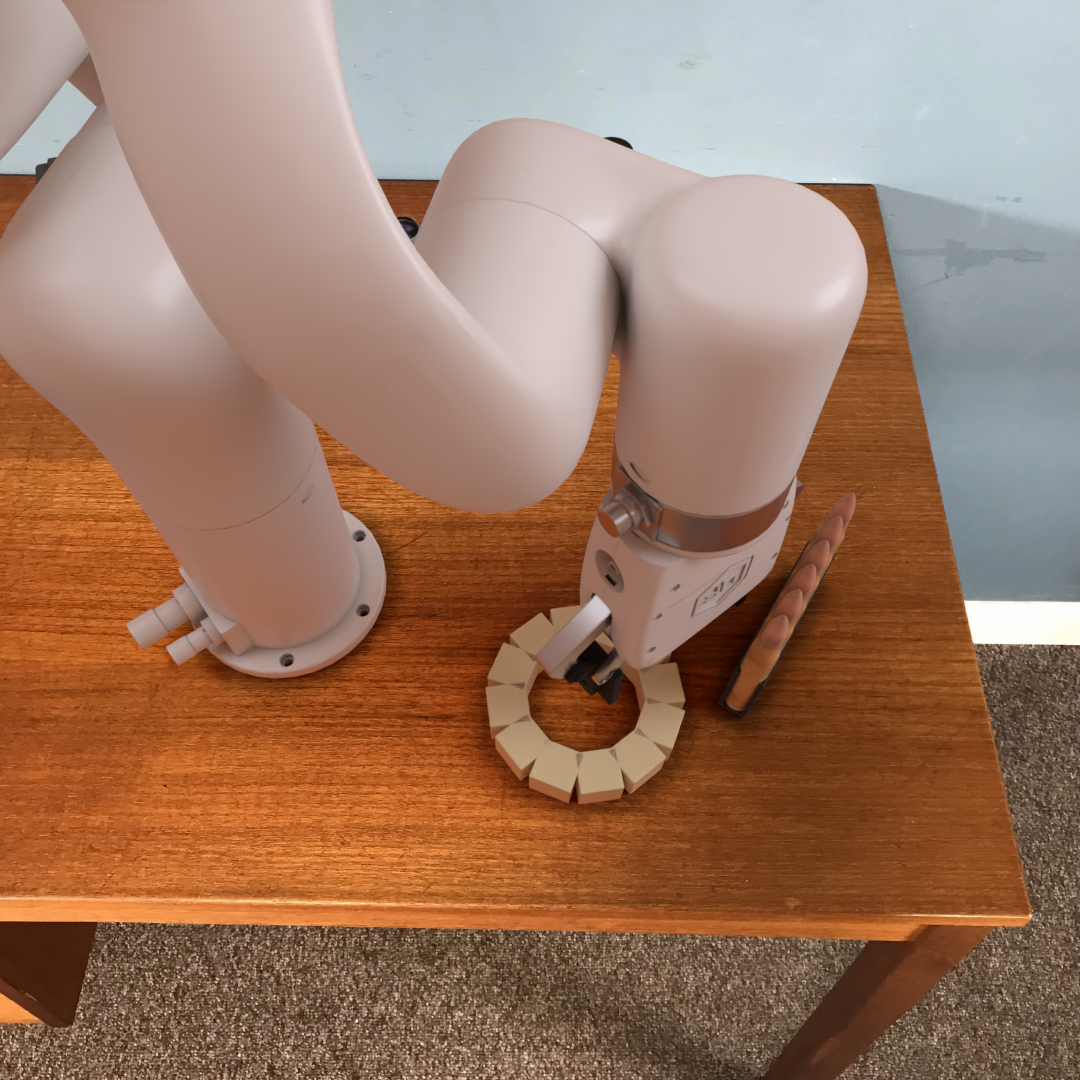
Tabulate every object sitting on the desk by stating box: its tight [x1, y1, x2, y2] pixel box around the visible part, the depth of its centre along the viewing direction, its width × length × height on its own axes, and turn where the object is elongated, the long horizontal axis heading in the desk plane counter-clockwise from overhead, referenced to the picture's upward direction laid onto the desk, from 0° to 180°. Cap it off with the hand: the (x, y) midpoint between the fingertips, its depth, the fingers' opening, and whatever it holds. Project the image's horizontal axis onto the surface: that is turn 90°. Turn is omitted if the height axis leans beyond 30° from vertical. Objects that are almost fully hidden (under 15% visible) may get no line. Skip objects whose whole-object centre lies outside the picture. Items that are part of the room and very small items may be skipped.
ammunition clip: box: [717, 491, 857, 719], centre depth 53 cm, size 11×2×12 cm, turn 148°
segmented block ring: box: [485, 604, 686, 805], centre depth 55 cm, size 12×12×2 cm
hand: (660, 633), depth 53 cm, fingers open, 9 cm apart
